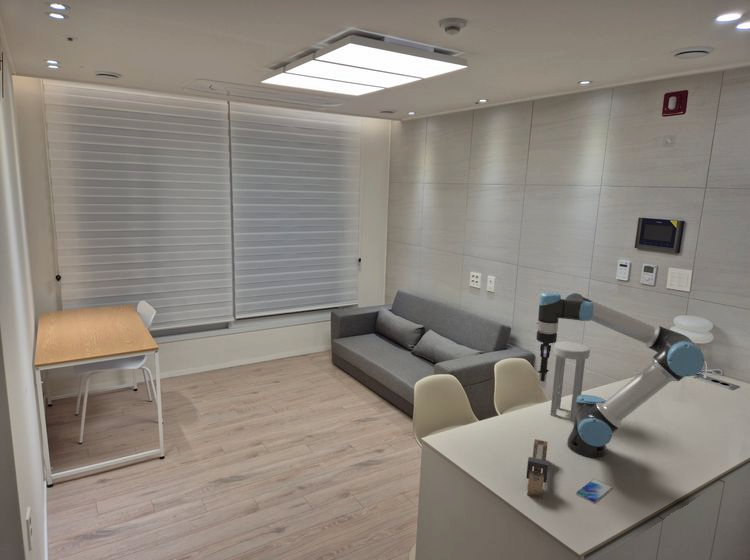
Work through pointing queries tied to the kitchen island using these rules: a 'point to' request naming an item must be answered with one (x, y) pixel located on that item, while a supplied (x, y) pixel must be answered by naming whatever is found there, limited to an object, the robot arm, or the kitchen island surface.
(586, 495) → the smartphone
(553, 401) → the stool
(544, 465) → the grey rectangular sleeve
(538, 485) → the sliding collar rod
